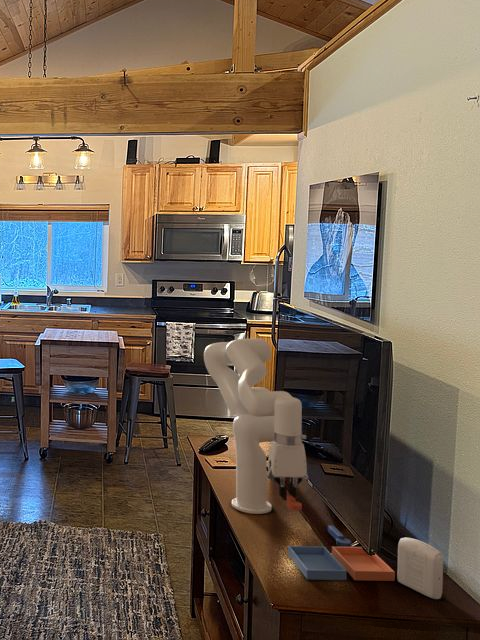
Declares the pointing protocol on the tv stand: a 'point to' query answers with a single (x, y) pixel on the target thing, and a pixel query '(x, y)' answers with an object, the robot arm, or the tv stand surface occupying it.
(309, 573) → the blue tray
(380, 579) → the terracotta tray
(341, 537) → the blue spoon
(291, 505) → the terracotta spoon
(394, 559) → the tv stand surface
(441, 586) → the photo printer
